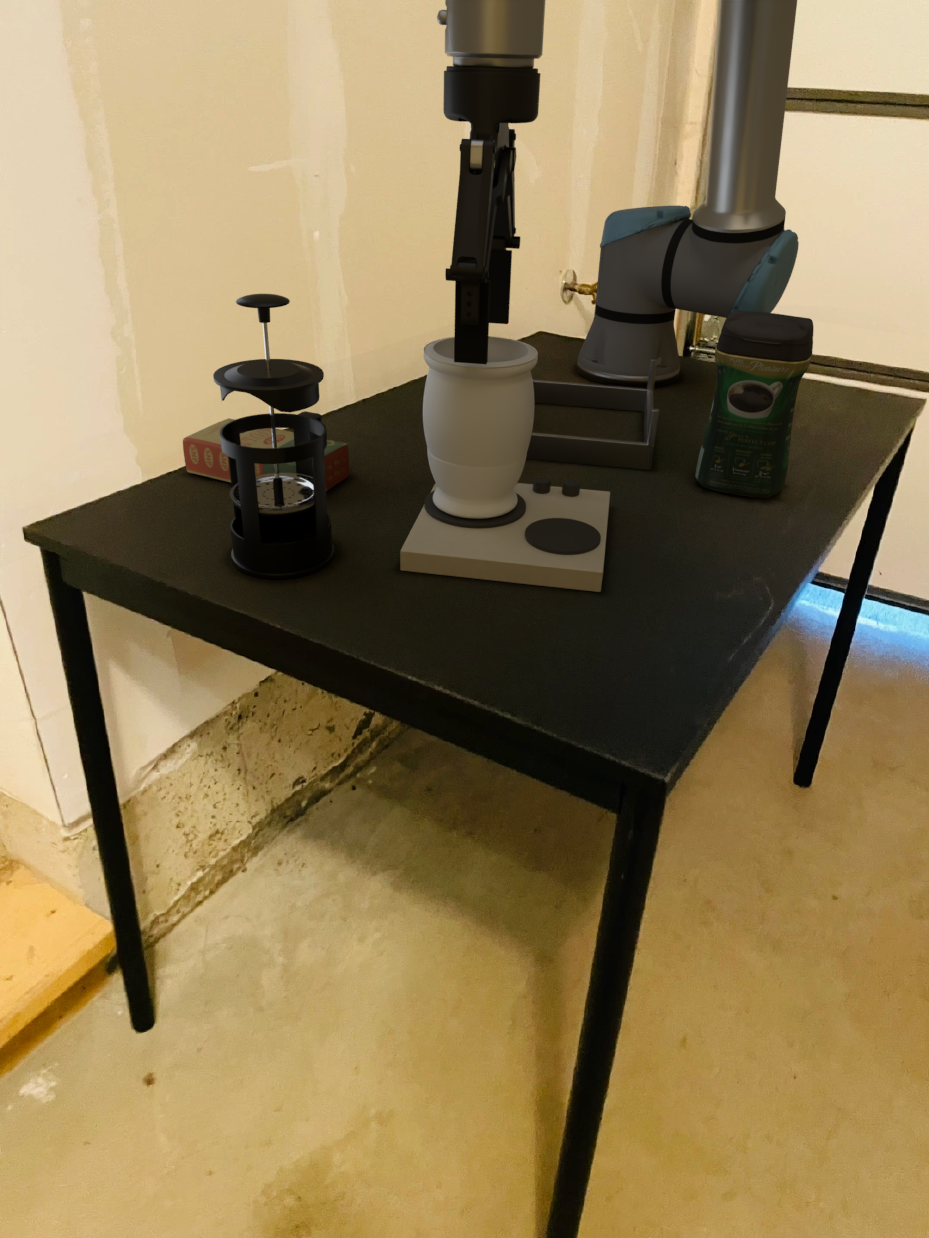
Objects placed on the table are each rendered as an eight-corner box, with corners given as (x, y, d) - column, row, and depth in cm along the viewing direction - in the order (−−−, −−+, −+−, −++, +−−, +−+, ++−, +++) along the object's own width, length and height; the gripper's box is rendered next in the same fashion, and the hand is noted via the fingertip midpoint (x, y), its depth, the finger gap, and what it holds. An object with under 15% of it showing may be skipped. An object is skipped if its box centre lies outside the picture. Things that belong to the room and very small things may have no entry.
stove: (438, 492, 97) (439, 464, 96) (608, 509, 95) (611, 480, 93) (400, 570, 82) (399, 538, 80) (600, 592, 80) (604, 560, 78)
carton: (233, 451, 106) (229, 415, 104) (351, 477, 100) (350, 440, 98) (185, 474, 99) (180, 436, 97) (309, 504, 94) (307, 464, 91)
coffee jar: (786, 480, 103) (825, 311, 93) (777, 506, 97) (817, 328, 87) (701, 465, 106) (730, 301, 97) (686, 489, 100) (716, 316, 90)
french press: (295, 592, 78) (274, 317, 66) (205, 568, 81) (170, 302, 69) (362, 538, 87) (354, 288, 76) (279, 519, 90) (259, 276, 79)
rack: (511, 399, 125) (514, 348, 122) (650, 410, 123) (657, 358, 119) (488, 455, 107) (491, 397, 103) (651, 470, 104) (659, 411, 101)
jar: (518, 531, 84) (529, 369, 76) (410, 518, 86) (410, 359, 78) (534, 487, 93) (545, 338, 85) (435, 477, 95) (438, 330, 87)
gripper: (471, 61, 81) (465, 306, 92) (409, 62, 60) (411, 378, 72) (554, 64, 80) (539, 311, 91) (521, 65, 59) (506, 386, 71)
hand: (483, 341), depth 82 cm, fingers open, 13 cm apart
